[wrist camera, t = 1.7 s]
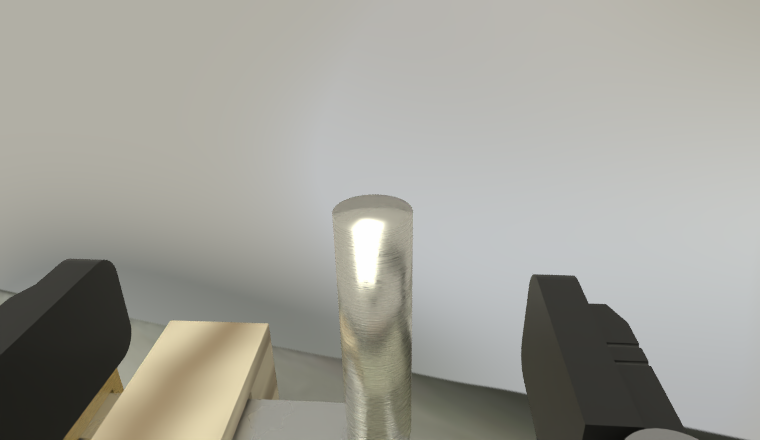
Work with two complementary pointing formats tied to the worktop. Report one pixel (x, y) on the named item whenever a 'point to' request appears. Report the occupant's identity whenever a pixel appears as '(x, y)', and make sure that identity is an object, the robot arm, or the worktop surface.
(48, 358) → the robot arm
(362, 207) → the crank handle
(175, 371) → the bearing block
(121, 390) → the spacer
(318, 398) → the worktop surface
